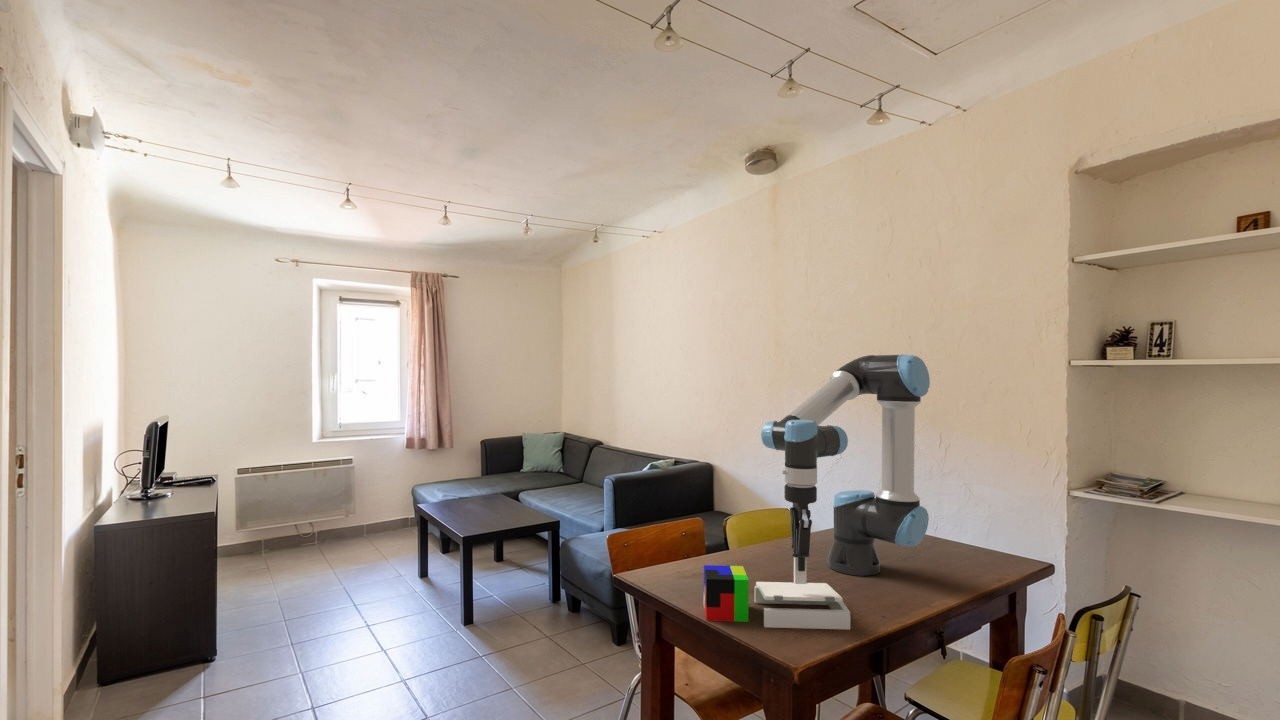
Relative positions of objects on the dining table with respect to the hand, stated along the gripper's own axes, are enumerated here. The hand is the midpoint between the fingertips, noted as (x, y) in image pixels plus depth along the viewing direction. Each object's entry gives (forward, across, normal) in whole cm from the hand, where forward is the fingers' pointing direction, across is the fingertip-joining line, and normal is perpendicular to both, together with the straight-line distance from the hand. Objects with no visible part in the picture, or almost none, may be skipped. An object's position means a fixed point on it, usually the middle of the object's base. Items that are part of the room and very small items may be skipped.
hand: (800, 582), depth 143 cm
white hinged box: (+9, -4, 0) cm, 10 cm away
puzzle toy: (+9, -4, -18) cm, 20 cm away
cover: (+4, -3, 0) cm, 5 cm away
